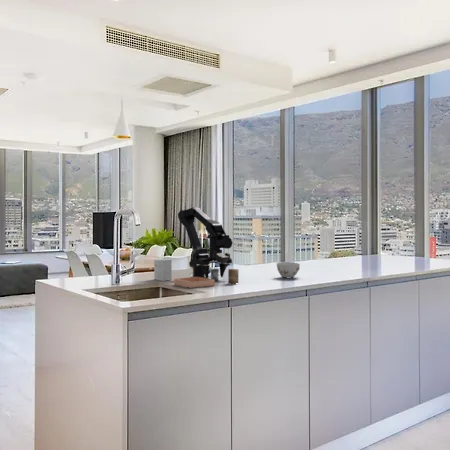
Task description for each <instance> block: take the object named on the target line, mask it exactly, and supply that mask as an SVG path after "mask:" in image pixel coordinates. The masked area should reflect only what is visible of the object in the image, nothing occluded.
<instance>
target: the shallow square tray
mask: <svg viewBox="0 0 450 450" xmlns="http://www.w3.org/2000/svg"><path fill="white" fill-rule="evenodd" d="M173 280H174V281H173V285H174V286H177V285H178V287H181V286H183V287H182V288H186V287H189V288H188V289H195V288H194V287H200V288H205V287H204V286H210V287H215V286H214V285H216V281H215V280H213V279H211V278H209V277H208V278H202V277H193V276H190V277H181V278H180V277H178V278H174V279H173Z"/></svg>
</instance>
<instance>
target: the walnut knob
mask: <svg viewBox="0 0 450 450" xmlns="http://www.w3.org/2000/svg"><path fill="white" fill-rule="evenodd" d="M227 272H228V278H227V279H228V283H231V284H230V285H237V284H236V283H238V284H239V269H238V268H229V269H228V271H227Z"/></svg>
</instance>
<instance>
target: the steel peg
mask: <svg viewBox="0 0 450 450" xmlns="http://www.w3.org/2000/svg"><path fill="white" fill-rule="evenodd" d="M219 273H220V268H211V269H210V279H213V280H215V282H219Z"/></svg>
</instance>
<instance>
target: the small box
mask: <svg viewBox="0 0 450 450" xmlns="http://www.w3.org/2000/svg"><path fill="white" fill-rule="evenodd" d="M153 261H154V262H153V264H154V265H153V268H154V270H153V271H154V272H153V273H154V274H153V275H154V278H153V279H154V280H155V279H156V281H161V282H166V281H172V273H173V272H172V259H167V258H157V259H156V258H155V259H153Z"/></svg>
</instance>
